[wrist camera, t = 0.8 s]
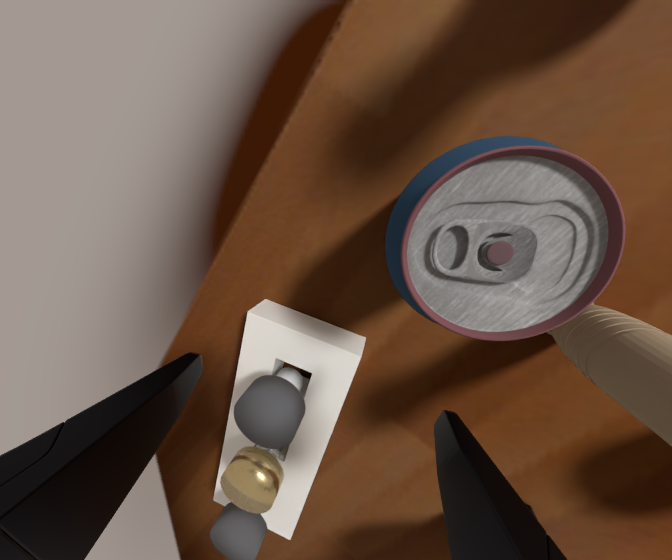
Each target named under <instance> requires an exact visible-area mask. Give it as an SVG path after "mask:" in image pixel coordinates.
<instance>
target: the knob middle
mask: <svg viewBox="0 0 672 560" xmlns="http://www.w3.org/2000/svg"><path fill="white" fill-rule="evenodd" d="M282 450H283V448H280V449H269V448H264V447H261V446H259V445H256V447H252V446H247V447H243V448H241V449H239V450H238V451H237V453H236V454H235V456H234V457H233V459H232V460H231V462H230V463H229V465H228V466H227V468H226V470H225V471H224V473H223V474H222V476H221V479H220V484H221V488H222V490H223V492H224V494H225V495H226V497H227V498H228V499H229V500H230V501H231V502H232V503H233V504H235V505H236V506H237V507H239V508H241V509H243V510H245V511H247V512H250V513H256V514H261V513H265V512H267V511H269V510H270V509H271V508H272V505H273V503H274V501H275V498H276V496H277V494H278V491H279V489H280V487H281V484H282V482H283V479H284V472H283V469H282V466H281V465H280V463H279V462H278V458H279V456H280V454H281V452H282Z"/></svg>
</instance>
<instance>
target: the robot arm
mask: <svg viewBox="0 0 672 560" xmlns="http://www.w3.org/2000/svg"><path fill="white" fill-rule="evenodd" d="M202 371H203V367H202V357H201V355H200V354H197V353H192V352H189V353H186V354H185V355H183V356H181V357H179V358H177V359H176V360H174V361H172V362H170V363H168V364H167V365H165V366H163V367H161V368H159V369H158V370H156V371H154V372H152V373H151V374H149V375H147V376H145V377H143V378H141V379H140V380H138V381H136V382H134V383H133V384H131V385H129V386H127V387H125V388H123V389H122V390H120V391H118V392H116V393H115V394H113V395H111V396H109V397H107V398H106V399H104V400H102V401H100V402H98V403H97V404H95V405H93V406H91V407H89V408H88V409H86V410H84V411H82V412H80V413H79V414H77V415H75V416H73V417H71V418H70V419H68V420H66V422H65V423H64V422H63V423H60V424H59V425H57V426H55V427H53V428H51V429H50V430H48V431H46V432H44V433H42V434H41V435H39V436H37V437H35V438H33V439H31V440H29V441H28V442H26V443H24V444H22V445H20V446H18V447H16V448H14V449H12V450H10V451H8V452H6V453H4V454H2V455H1V456H0V560H84V559H85V558H86V556H87V555H88V553H89V552H90V550H91V549H92V547H93V546H94V544H95V542H96V541H97V540H98V538H99V537H100V535H101V534H102V532H103V531H104V529H105V528H106V526H107V524H108V523H109V522H110V520H111V519H112V517H113V516H114V514H115V513H116V511H117V510H118V508H119V507H120V505H121V503H122V502H123V501H124V499H125V498H126V496H127V495H128V493H129V492H130V490H131V489H132V487H133V486H134V484H135V483H136V481H137V480H138V478H139V476H140V475H141V473H142V472H143V471H144V469H145V467H146V466H147V464H148V463H149V461H150V460H151V458H152V457H153V455H154V454H155V452H156V451H157V449H158V448H159V446H160V445H161V443H162V442H163V440H164V439H165V437H166V436H167V434H168V433H169V431H170V430H171V428H172V427H173V425H174V424H175V422H176V421H177V419H178V418H179V416H180V414H181V412H182V411H183V409H184V407H185V405H186V403H187V401H188V399H189V398H190V396H191V394H192V392H193V390H194V388H195V386H196V384H197V383H198V381H199V379H200V377H201V375H202ZM434 438H435V451H436V464H437V475H438V482H439V488H440V494H441V500H442V506H443V512H444V517H445V523H446V529H447V535H448V541H449V546H450V552H451V558H452V560H567V559H566V557H565V556H564V555H563V553H562V552H561V551H560V549H559V548H558V547H557V545H556V544H555V543H554V542H553V540H552V539H551V538H550V536H549V535H547V534H546V531H545V530H544V528H543V527H542V526H541V525H540V523H539V522H538V520H537V518H536V516H535V514H534V512H533V510H532V508H531V506H529V505H527V504H525V503H524V502H523V501H522V499H521V498H520V497H519V495H518V494H517V493H516V492H515V490H514V489H513V488H512V486H511V485H510V484H509V482H508V481H507V480H506V478H505V477H504V476H503V474H502V473H501V472H500V470H499V469H498V468H497V466H496V465H495V464H494V462H493V461H492V460H491V459H490V457H489V456H488V455H487V453H486V452H485V451H484V449H483V448H482V447H481V445H480V444H479V443H478V441H477V440H476V439H475V437H474V436H473V435H472V433H471V432H470V431H469V429H468V428H467V427H466V426H465V424H464V423H463V422H462V420H461V419H460V418H459V416H458V415H457V414H456V413H455V412H452V411H447V410H443V411H442V412H441V414H440V415H439V417H438V419H437V420H436V422H435V424H434Z"/></svg>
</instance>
